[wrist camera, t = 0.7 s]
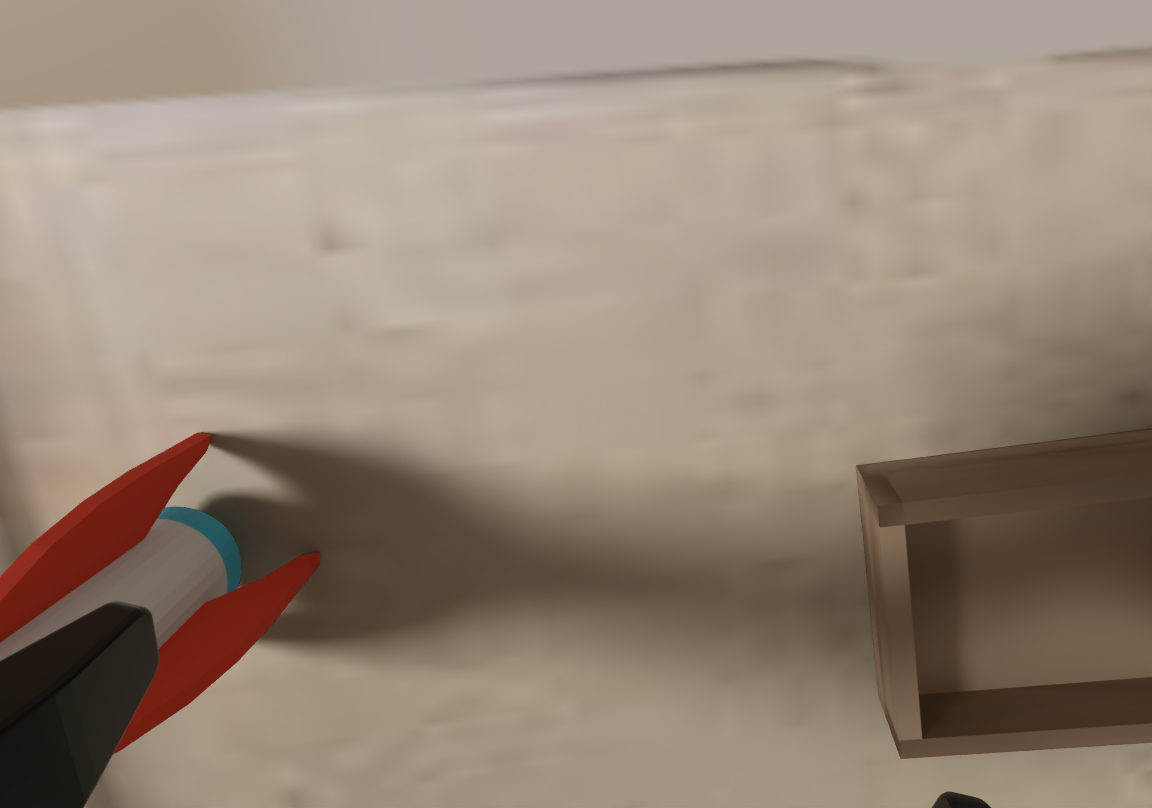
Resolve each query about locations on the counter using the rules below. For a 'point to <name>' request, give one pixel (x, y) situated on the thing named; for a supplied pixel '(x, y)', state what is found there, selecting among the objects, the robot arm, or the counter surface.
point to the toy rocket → (149, 581)
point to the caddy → (1013, 595)
